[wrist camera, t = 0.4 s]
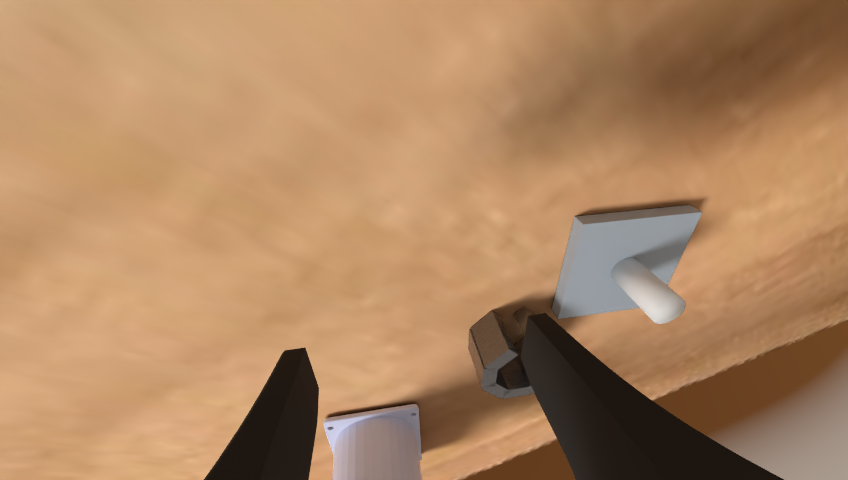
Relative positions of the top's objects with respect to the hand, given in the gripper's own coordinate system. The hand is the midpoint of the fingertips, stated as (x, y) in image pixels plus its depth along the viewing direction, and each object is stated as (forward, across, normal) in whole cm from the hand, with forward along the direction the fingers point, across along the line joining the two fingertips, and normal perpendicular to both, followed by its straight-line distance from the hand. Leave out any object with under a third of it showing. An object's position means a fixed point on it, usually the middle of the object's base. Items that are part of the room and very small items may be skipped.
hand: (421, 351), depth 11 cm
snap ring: (+10, -8, +12) cm, 17 cm away
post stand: (+10, -15, +6) cm, 19 cm away
